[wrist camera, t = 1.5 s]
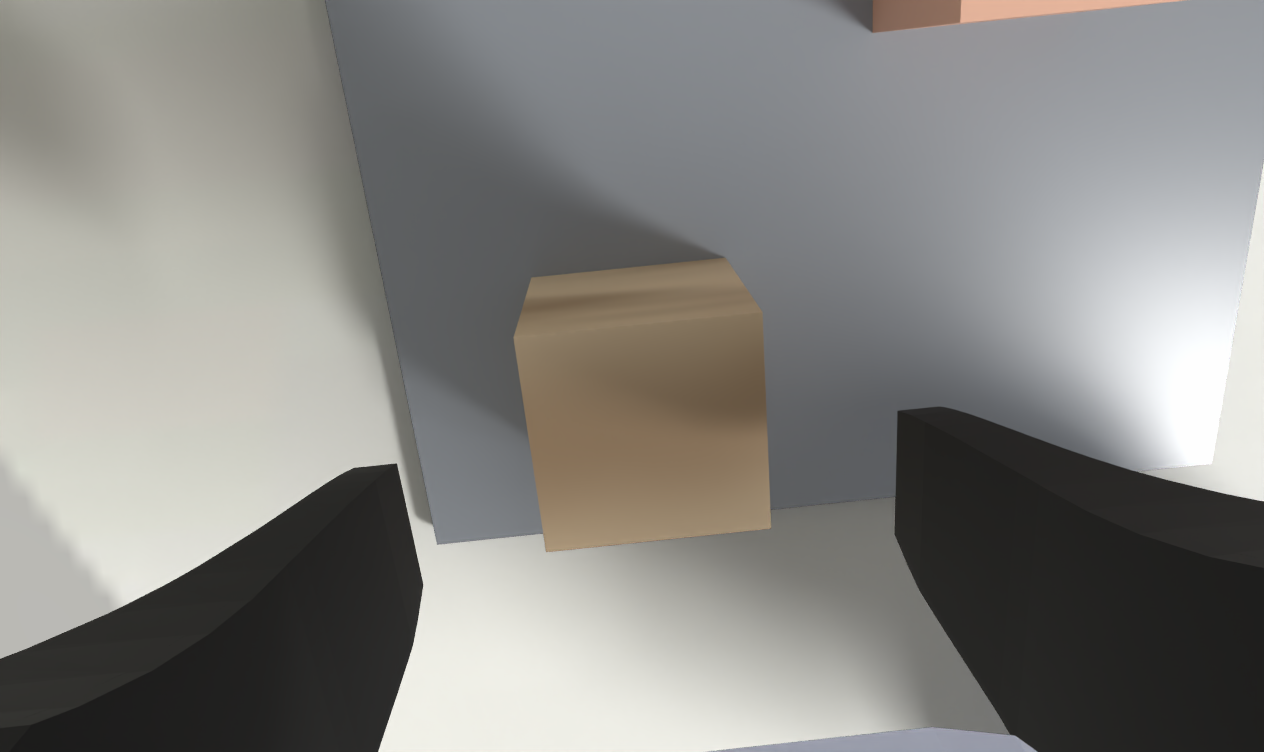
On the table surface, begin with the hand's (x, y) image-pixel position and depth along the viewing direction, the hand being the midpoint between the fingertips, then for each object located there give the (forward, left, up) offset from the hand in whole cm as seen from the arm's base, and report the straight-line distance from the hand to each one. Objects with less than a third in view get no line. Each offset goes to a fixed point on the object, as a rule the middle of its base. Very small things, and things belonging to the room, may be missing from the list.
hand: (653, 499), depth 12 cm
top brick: (0, 0, -6) cm, 6 cm away
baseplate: (+4, -4, -7) cm, 9 cm away
